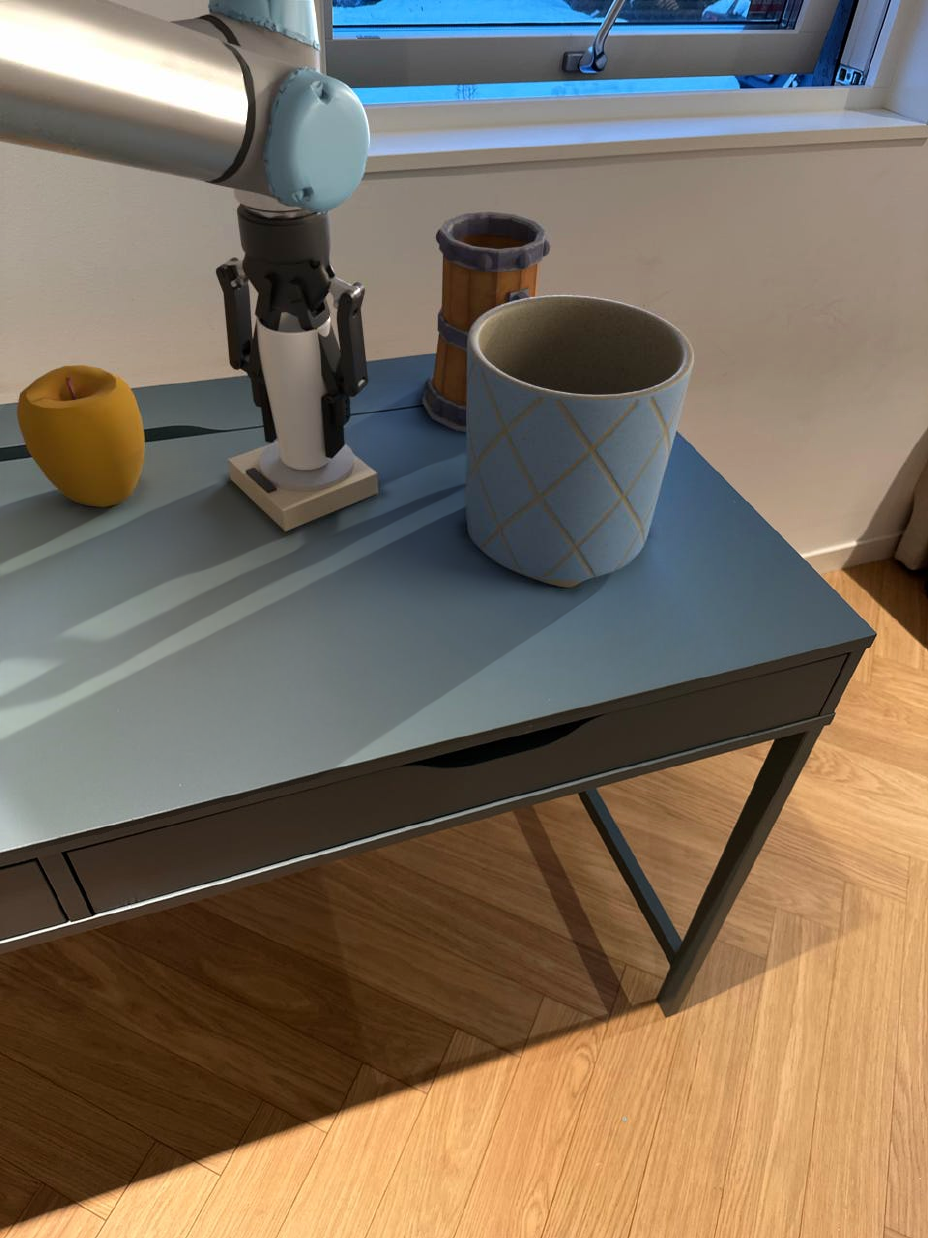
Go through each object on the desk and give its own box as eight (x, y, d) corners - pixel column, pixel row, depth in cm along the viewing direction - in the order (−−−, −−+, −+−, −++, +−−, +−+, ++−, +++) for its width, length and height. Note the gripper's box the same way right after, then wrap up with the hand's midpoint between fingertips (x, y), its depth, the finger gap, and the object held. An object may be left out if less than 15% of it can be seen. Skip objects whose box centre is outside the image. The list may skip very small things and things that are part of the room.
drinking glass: (354, 459, 92) (346, 318, 82) (302, 485, 88) (287, 341, 78) (310, 433, 95) (298, 294, 85) (259, 457, 92) (239, 315, 81)
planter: (572, 624, 80) (605, 426, 66) (419, 530, 89) (420, 339, 75) (688, 531, 90) (737, 344, 77) (540, 455, 100) (561, 276, 86)
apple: (42, 471, 94) (4, 356, 85) (150, 454, 97) (123, 341, 88) (47, 534, 86) (6, 415, 78) (164, 513, 89) (136, 396, 81)
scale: (285, 531, 88) (282, 505, 86) (230, 479, 94) (226, 453, 92) (378, 493, 93) (377, 467, 91) (320, 445, 99) (318, 421, 97)
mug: (595, 432, 104) (623, 257, 90) (493, 469, 97) (506, 287, 84) (496, 362, 115) (508, 197, 101) (399, 391, 109) (397, 219, 95)
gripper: (405, 206, 75) (407, 446, 91) (207, 171, 80) (242, 405, 95) (366, 237, 70) (375, 485, 86) (157, 197, 74) (202, 440, 90)
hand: (305, 442), depth 91 cm, fingers closed on drinking glass, 6 cm apart
